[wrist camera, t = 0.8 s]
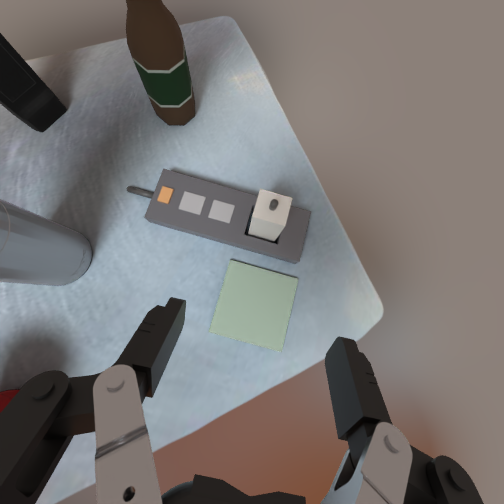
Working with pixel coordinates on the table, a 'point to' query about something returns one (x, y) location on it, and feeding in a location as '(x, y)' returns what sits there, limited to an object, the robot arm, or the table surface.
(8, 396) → the plastic cup
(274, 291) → the mat
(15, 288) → the table surface
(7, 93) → the portable radio
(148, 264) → the table surface
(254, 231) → the block
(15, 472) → the robot arm
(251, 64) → the table surface
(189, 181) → the power strip
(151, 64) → the beer bottle
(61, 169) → the table surface
